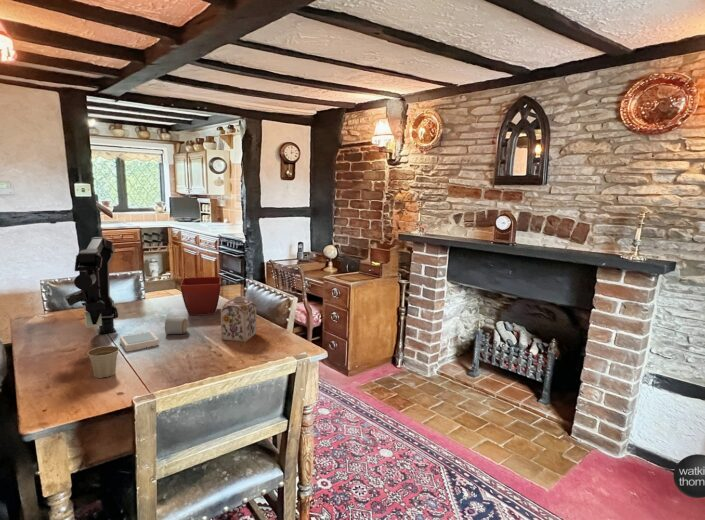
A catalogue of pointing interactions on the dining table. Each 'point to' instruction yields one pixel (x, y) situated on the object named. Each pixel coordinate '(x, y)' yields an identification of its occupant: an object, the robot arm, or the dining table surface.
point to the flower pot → (103, 360)
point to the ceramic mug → (175, 325)
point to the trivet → (139, 341)
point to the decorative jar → (238, 320)
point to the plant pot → (201, 294)
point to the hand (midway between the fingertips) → (93, 322)
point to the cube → (89, 322)
